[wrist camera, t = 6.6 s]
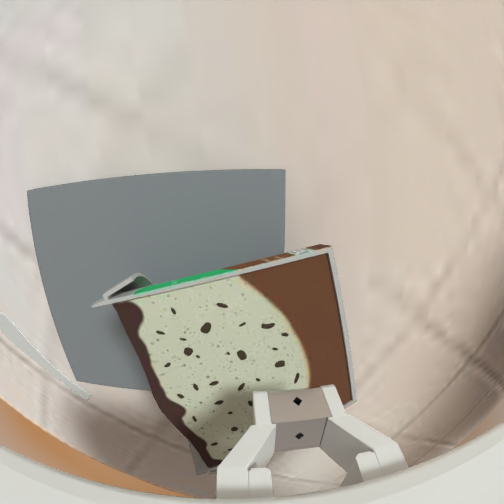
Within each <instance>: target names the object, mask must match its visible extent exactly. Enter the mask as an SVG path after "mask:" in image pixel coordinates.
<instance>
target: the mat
mask: <svg viewBox="0 0 504 504" xmlns="http://www.w3.org/2000/svg"><path fill="white" fill-rule="evenodd" d="M27 197H28V207H29V215H30V222H31V228H32V235H33V240H34V246H35V251H36V256H37V261H38V265H39V270H40V274H41V278H42V282H43V286H44V290H45V294H46V297H47V301H48V304H49V308H50V311H51V314H52V317H53V320H54V323H55V326H56V329H57V332H58V335H59V338H60V341H61V343H62V346H63V349H64V351H65V354H66V357H67V359H68V362H69V364H70V366H71V369H72V371H73V373H74V376H75V378H76V380H77V381H80V382H86V383H92V384H99V385H105V386H113V387H120V388H129V389H138V390H149V391H152V390H151V388H150V385H149V382H148V379H147V376H146V374H145V371H144V369H143V367H142V364H141V362H140V359H139V357H138V355H137V353H136V351H135V349H134V347H133V345H132V343H131V341H130V339H129V337H128V335H127V333H126V331H125V329H124V326H123V324H122V322H121V320H120V318H119V316H118V313H117V311H116V310H115V308H114V307H113V305H112V304H107V305H102V306H98V307H93V308H92V305H93V304H94V303H95V302H96V301H98V300H100V299H102V298H103V296H102V295H103V294H104V293H105V292H106V291H107V290H109V289H110V288H112V287H113V286H115V285H117V284H118V283H120V282H121V281H123V280H125V279H126V278H128V277H130V276H131V275H133V274H134V273H141V274H143V275H145V276H146V277H147V278H148V279H149V280H150V281H151V282H152V284H153V285H155V284H159V283H164V282H168V281H172V280H176V279H180V278H185V277H189V276H193V275H197V274H201V273H205V272H209V271H214V270H218V269H222V268H226V267H230V266H234V265H238V264H242V263H246V262H251V261H255V260H259V259H263V258H267V257H271V256H275V255H279V254H283V253H284V238H285V170H284V169H243V170H208V171H187V172H171V173H157V174H145V175H134V176H124V177H115V178H106V179H98V180H90V181H83V182H76V183H69V184H62V185H56V186H50V187H44V188H38V189H33V190H29V191H27Z"/></svg>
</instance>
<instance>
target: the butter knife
mask: <svg viewBox="0 0 504 504" xmlns="http://www.w3.org/2000/svg"><path fill="white" fill-rule="evenodd" d="M0 330H1V331H2V332H3V333H4V334H5V335H6V336H7V337H8V339H9V340H10V341H12V342H13V343H14V344H15V345H16V346H17V347H18V348H20V349H21V350H22V351H23V352H24V353H26V354H27V355H28V356H29V357H31V358H32V359H33V360H34V361H36V362H37V363H38V364H40V365H41V366H42V367H44V368H45V369H46V370H47V371H48V372H50V373H51V374H52V375H53V376H55V377H56V378H57V379H59V380H60V381H61V382H62V383H64V384H65V385H66V386H67V387H69V388H70V389H71V390H73V391H74V392H75V393H76V394H78V395H79V396H80V397H82V398H83V399H85V400H88V399H89V398H90V397H91V396H92V395H90V394H89V393H87V392H86V391H85V390H83V389H82V388H81V387H79V386H78V385H77V384H75V383H74V382H73V381H71V380H70V379H69V378H67V377H66V376H65V375H64V374H63V373H61V372H60V371H59V370H58V369H57V368H56V367H54V366H53V365H52V364H51V363H50V362H49V361H48V360H47V359H46V358H45V357H44V356H43V355H42V354H41V353H40V352H39V351H38V350H37V349H36V348H35V347H34V346H33V344H32V343H31V342H30V341H29V340H28V339H27V338H26V337H25V336H24V335H23V333H22V332H21V331H20V330H19V329H18V328H17V326H16V325H15V324H14V323H13V322H12V321H11V320H10V319H9V318H8V317H7V316H6V315H5V314H4V313H2V312H0Z"/></svg>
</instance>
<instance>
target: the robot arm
mask: <svg viewBox="0 0 504 504" xmlns="http://www.w3.org/2000/svg"><path fill="white" fill-rule="evenodd" d="M313 447H320V448H321V449H322V450H323V451H324V452H325V453H326V454H327V455H328V456H329V457H330V458H332V459H333V460H334V461H335V462H336V463H337V464H338V465H339V466H340V467H342V468H343V469H344V470H345V471H346V472H347V475H346V477H345V479H344V481H343V482H342V484H341V486H340V487H339V488H334V489H329V490H323V491H318V492H312V493H305V494H298V495H289V496H280V497H274V493H273V486H272V479H271V471H270V470H269V469H267V468H266V466H267V465H268V463H269V461H270V459H271V458H272V456H273V454H274V452H278V451H287V450H294V449H304V448H313ZM0 504H504V421H503V422H501V423H500V424H498V425H497V426H495V427H493V428H492V429H490V430H488V431H487V432H485V433H483V434H481V435H479V436H478V437H476V438H474V439H472V440H470V441H468V442H467V443H464V444H463V445H460V446H459V447H456V448H454V449H452V450H450V451H448V452H446V453H444V454H441V455H439V456H437V457H434V458H432V459H430V460H427V461H425V462H422V463H420V464H417V465H415V466H412V467H409V466H408V464H407V462H406V460H405V458H404V456H403V454H402V452H401V450H400V448H399V446H398V444H397V442H395V441H393V440H392V439H390V438H388V437H387V436H385V435H383V434H382V433H380V432H378V431H377V430H375V429H373V428H372V427H370V426H369V425H367V424H365V423H364V422H362V421H361V420H359V419H357V418H356V417H354V416H353V415H351V414H346V412H345V409H344V407H343V404H342V402H341V399H340V397H339V395H338V392H337V390H336V387H335V386H334V385H333V384H331V385H324V386H316V387H308V388H299V389H291V390H272V391H253V425H251V426H250V427H249V429H248V430H247V431H246V432H245V434H244V435H243V436H242V438H241V439H240V440H239V441H238V443H237V444H236V445H235V447H234V448H233V449H232V450H231V451H230V453H229V454H228V455H227V456H226V458H225V459H224V460H223V461H222V462H221V464H220V465H219V466H218V467H217V490H216V499H208V498H190V497H178V496H169V495H161V494H154V493H147V492H141V491H135V490H130V489H125V488H120V487H115V486H111V485H107V484H103V483H99V482H95V481H92V480H88V479H85V478H81V477H78V476H75V475H72V474H69V473H65V472H63V471H60V470H57V469H55V468H52V467H49V466H46V465H44V464H42V463H39V462H36V461H34V460H32V459H30V458H27V457H25V456H23V455H21V454H18V453H16V452H14V451H12V450H10V449H8V448H6V447H4V446H2V445H0Z"/></svg>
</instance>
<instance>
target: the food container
mask: <svg viewBox="0 0 504 504" xmlns="http://www.w3.org/2000/svg"><path fill="white" fill-rule="evenodd" d="M102 296H103V298H102V299H100V300H98V301H96V302H95V303H94V304H93V305H92V308H93V307H98V306H102V305H107V304H112V305H113V307H114V308H115V310H116V311H117V313H118V316H119V318H120V320H121V322H122V324H123V326H124V329H125V331H126V333H127V335H128V337H129V339H130V341H131V343H132V345H133V347H134V349H135V351H136V353H137V355H138V357H139V359H140V362H141V364H142V367H143V369H144V371H145V374H146V376H147V379H148V382H149V385H150V388H151V390H152V393H153V396H154V398H155V400H156V402H157V404H158V406H159V408H160V409H161V411H162V412H163V413H164V414H165V416H166V417H167V418H168V419H169V420H170V421H171V422H172V423H173V424H174V425H175V426H176V428H177V429H178V430H179V431H180V432H181V433H182V434H183V435H184V436H185V437H186V438H187V439H188V441H189V445H190V448H191V451H192V455H193V460H194V464H195V469H196V474H197V475H199V474H204V473H209V474H215V473H217V467H218V466H219V465H220V464H221V462H222V461H223V460H224V459H225V458H226V456H227V455H228V454H229V453H230V451H231V450H232V449H233V448H234V447H235V445H236V444H237V443H238V441H239V440H240V439H241V438H242V436H243V435H244V434H245V432H246V431H247V430H248V429H249V427H250V426H251V425H253V391H272V390H291V389H299V388H308V387H316V386H324V385H331V384H333V385H334V386H335V387H336V390H337V392H338V395H339V397H340V399H341V402H342V404H343V407H344V409H345V408H347V407H348V406H350V405H352V404H353V403H355V402H356V401H357V399H356V390H355V381H354V373H353V365H352V357H351V350H350V343H349V336H348V329H347V323H346V317H345V311H344V305H343V299H342V294H341V288H340V283H339V278H338V273H337V268H336V263H335V258H334V253H333V248H332V246H329V245H322V244H319V245H315V246H311V247H307V248H303V249H299V250H295V251H291V252H287V253H283V254H279V255H275V256H271V257H267V258H263V259H259V260H255V261H251V262H246V263H242V264H238V265H234V266H230V267H226V268H222V269H218V270H214V271H209V272H205V273H201V274H197V275H193V276H189V277H185V278H180V279H176V280H172V281H168V282H164V283H159V284H155V285H153V284H152V282H151V281H150V280H149V279H148V278H147V277H146V276H145V275H143V274H141V273H134V274H133V275H131V276H130V277H128V278H126V279H125V280H123V281H121V282H120V283H118V284H117V285H115V286H113V287H112V288H110V289H109V290H107V291H106V292H105V293H104V294H103V295H102Z"/></svg>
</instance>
